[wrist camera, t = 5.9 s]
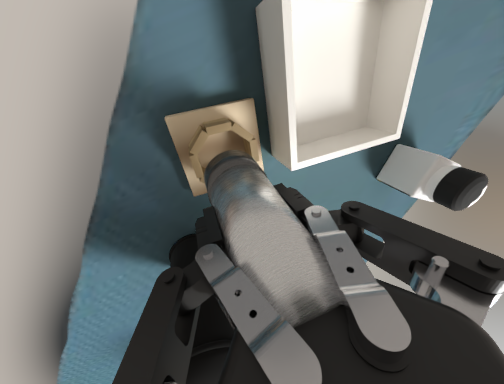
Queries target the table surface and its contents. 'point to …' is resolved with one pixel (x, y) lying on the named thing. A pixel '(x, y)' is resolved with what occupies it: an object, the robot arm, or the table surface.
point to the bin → (337, 73)
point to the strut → (269, 239)
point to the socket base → (213, 136)
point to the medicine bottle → (432, 178)
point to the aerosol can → (204, 325)
